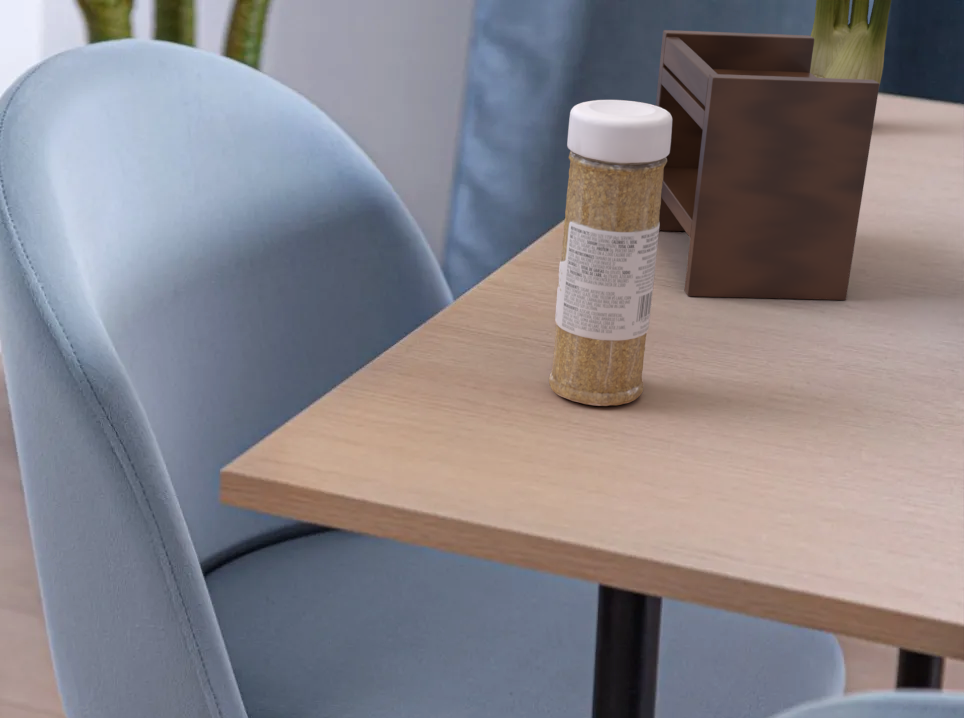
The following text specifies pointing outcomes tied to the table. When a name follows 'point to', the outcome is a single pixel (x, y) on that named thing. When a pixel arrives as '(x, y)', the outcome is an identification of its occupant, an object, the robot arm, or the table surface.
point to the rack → (762, 164)
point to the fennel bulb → (849, 39)
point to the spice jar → (609, 249)
